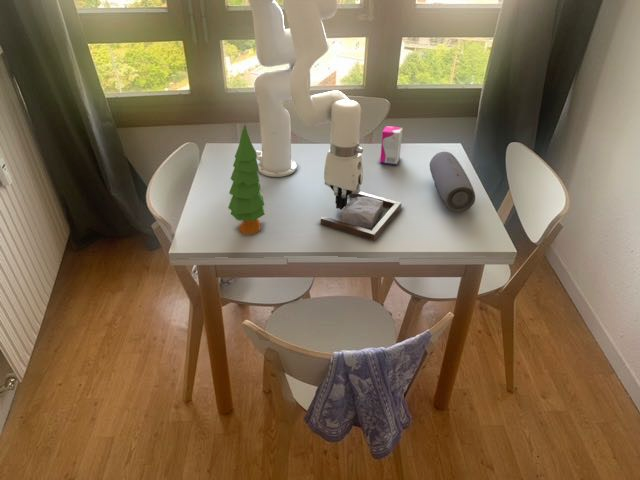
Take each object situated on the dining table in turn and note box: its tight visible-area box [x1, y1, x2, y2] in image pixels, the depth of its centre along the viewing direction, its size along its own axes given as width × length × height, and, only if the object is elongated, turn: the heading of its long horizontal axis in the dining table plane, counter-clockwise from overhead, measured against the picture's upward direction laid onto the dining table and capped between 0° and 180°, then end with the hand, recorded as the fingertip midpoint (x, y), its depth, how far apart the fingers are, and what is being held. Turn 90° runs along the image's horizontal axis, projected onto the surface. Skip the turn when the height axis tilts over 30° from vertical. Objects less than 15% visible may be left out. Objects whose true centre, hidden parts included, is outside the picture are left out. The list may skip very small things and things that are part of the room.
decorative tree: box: [227, 124, 266, 236], centre depth 125 cm, size 10×9×30 cm
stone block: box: [341, 197, 384, 230], centre depth 138 cm, size 12×5×10 cm
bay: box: [320, 191, 402, 242], centre depth 139 cm, size 16×19×2 cm
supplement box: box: [379, 125, 404, 166], centre depth 165 cm, size 6×6×12 cm
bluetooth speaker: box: [429, 151, 476, 213], centre depth 146 cm, size 23×9×10 cm, turn 1°
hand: (341, 206), depth 141 cm, fingers closed
